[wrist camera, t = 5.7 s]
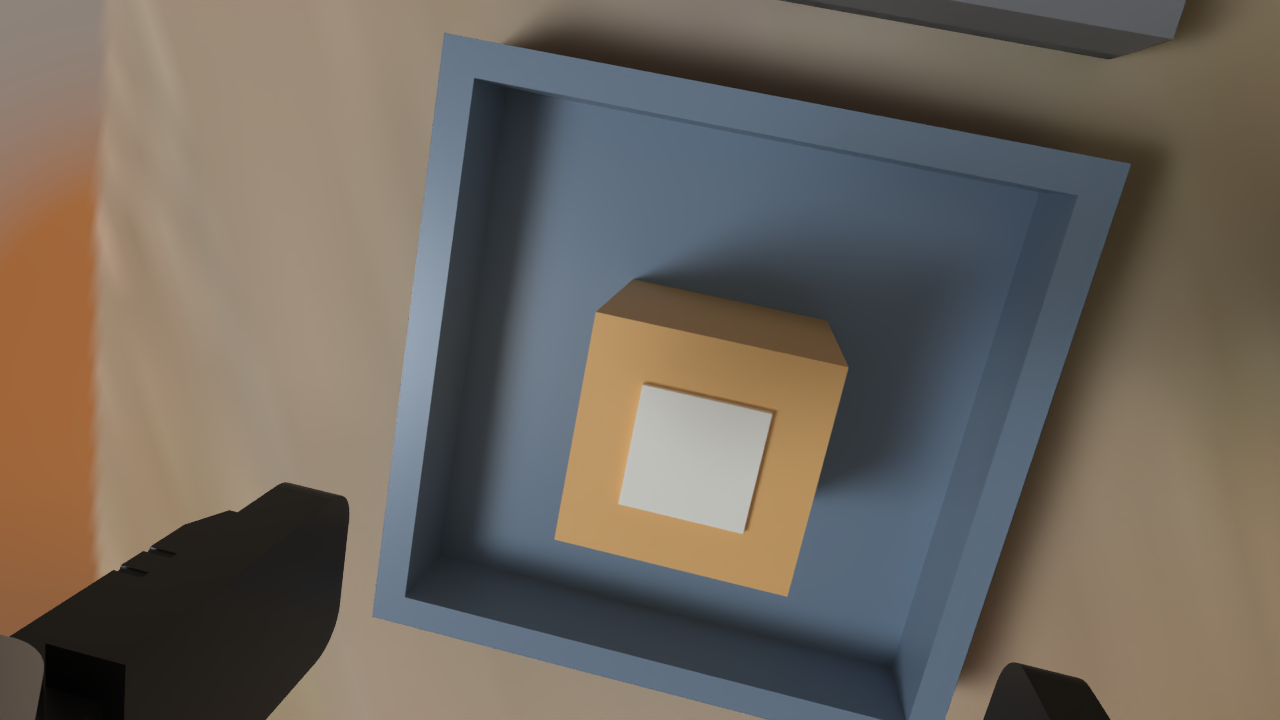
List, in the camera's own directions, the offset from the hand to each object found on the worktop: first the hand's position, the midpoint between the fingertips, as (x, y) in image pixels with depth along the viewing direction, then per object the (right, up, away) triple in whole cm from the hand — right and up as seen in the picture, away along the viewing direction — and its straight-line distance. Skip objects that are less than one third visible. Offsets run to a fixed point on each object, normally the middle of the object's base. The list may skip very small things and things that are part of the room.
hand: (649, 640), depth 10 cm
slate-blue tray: (+2, +3, +12) cm, 12 cm away
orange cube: (+2, +3, +11) cm, 12 cm away
